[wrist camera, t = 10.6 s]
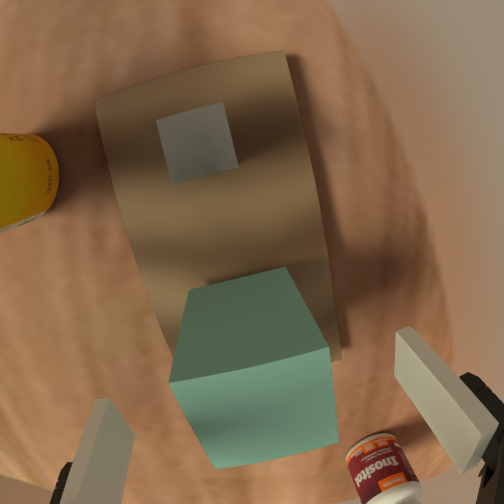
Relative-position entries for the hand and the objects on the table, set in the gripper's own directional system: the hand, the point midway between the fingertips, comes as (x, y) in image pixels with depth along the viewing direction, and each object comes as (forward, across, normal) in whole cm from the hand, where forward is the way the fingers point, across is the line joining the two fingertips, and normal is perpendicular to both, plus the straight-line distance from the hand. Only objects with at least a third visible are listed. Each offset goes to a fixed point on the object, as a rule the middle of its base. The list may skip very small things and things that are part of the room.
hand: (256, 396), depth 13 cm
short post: (+9, 0, +10) cm, 14 cm away
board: (+10, 0, +4) cm, 11 cm away
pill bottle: (+10, +9, -23) cm, 26 cm away
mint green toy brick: (+8, 0, -1) cm, 8 cm away
